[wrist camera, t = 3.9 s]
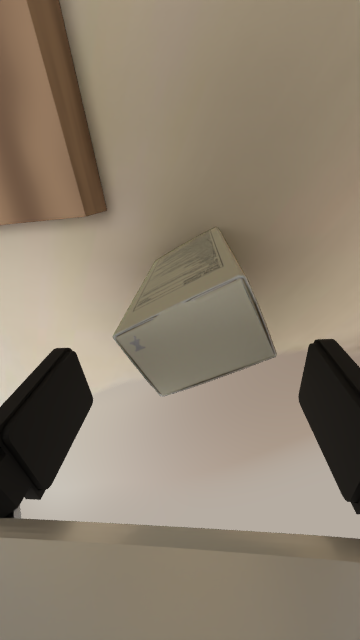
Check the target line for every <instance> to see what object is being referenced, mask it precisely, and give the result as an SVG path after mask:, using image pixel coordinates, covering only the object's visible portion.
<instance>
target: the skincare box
mask: <svg viewBox="0 0 360 640" xmlns="http://www.w3.org/2000/svg"><path fill="white" fill-rule="evenodd" d="M113 339H114V340H115V341H116V343H117V344H118V345H119V346H120V347H121V349H122V350H123V352H124V353H125V354H126V355H127V356H128V358H129V359H130V360H131V362H132V363H133V364H134V365H135V366H136V368H137V369H138V370H139V372H140V373H141V374H142V375H143V377H144V378H145V379H146V380H147V382H148V383H149V384H150V385H151V386H152V387H153V388H154V389H155V390H156V392H157V393H158V394H159V395H160V396H167V395H170V394H174V393H177V392H179V391H183V390H186V389H189V388H192V387H195V386H198V385H201V384H204V383H206V382H209V381H212V380H215V379H218V378H220V377H223V376H226V375H229V374H232V373H234V372H237V371H240V370H242V369H245V368H247V367H250V366H252V365H255V364H258V363H260V362H263V361H266V360H269V359H271V358H274V357H276V355H277V352H276V350H275V347H274V345H273V342H272V339H271V336H270V333H269V331H268V328H267V325H266V323H265V320H264V317H263V315H262V312H261V310H260V307H259V305H258V303H257V300H256V298H255V296H254V293H253V291H252V288H251V286H250V284H249V281H248V279H247V277H246V276H245V274H244V272H243V270H242V269H241V267H240V265H239V264H238V262H237V260H236V258H235V256H234V255H233V253H232V251H231V250H230V248H229V246H228V244H227V242H226V241H225V239H224V237H223V235H222V233H221V232H220V230H219V229H218V228H217V227H215V228H213V229H211V230H209V231H207V232H205V233H203V234H201V235H200V236H198V237H196V238H194V239H192V240H190V241H188V242H187V243H185V244H183V245H181V246H180V247H178V248H176V249H174V250H173V251H171V252H169V253H168V254H166V255H164V256H163V257H161V258H159V259H158V260H156V261H155V262H154V264H153V266H152V268H151V269H150V271H149V273H148V275H147V277H146V278H145V280H144V282H143V284H142V285H141V287H140V289H139V291H138V292H137V294H136V296H135V298H134V299H133V301H132V303H131V305H130V306H129V308H128V310H127V312H126V314H125V315H124V317H123V319H122V321H121V322H120V324H119V326H118V328H117V329H116V331H115V333H114V335H113Z"/></svg>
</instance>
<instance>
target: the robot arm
mask: <svg viewBox="0 0 360 640" xmlns="http://www.w3.org/2000/svg"><path fill="white" fill-rule="evenodd" d="M299 402H300V405H301V407H302V410H303V412H304V414H305V416H306V418H307V420H308V422H309V425H310V427H311V429H312V431H313V433H314V435H315V438H316V440H317V442H318V444H319V446H320V448H321V450H322V453H323V455H324V457H325V459H326V461H327V463H328V466H329V467H330V470H331V472H332V474H333V476H334V478H335V481H336V483H337V485H338V487H339V489H340V491H341V494H342V495H343V497H344V499H345V500H346V501H348V502H351V504H352V506H353V507H354V510H355V512H356V514H360V368H359V366H357V364H356V363H355V362H354V361H353V360H352V359H351V357H350V356H349V355H348V354H347V353H346V352H345V351H344V350H343V348H342V347H341V346H340V345H339V344H338V343H337V342H336V341H335V340H334V339H318V340H315V341H314V343H313V344H310V345H309V347H308V352H307V357H306V362H305V367H304V372H303V377H302V381H301V387H300V391H299ZM92 403H93V397H92V394H91V391H90V389H89V386H88V383H87V381H86V378H85V375H84V373H83V370H82V368H81V365H80V362H79V360H78V357H77V355H76V353H75V352H74V351H72V350H71V349H70V348H56V349H54V350H53V351H52V352H51V353H50V354H49V355H48V356H47V357H46V358H45V359H44V360H43V361H42V362H41V364H40V365H39V366H38V367H37V368H36V369H35V370H34V371H33V372H32V373H31V374H30V375H29V376H28V378H27V379H26V380H25V381H24V382H23V383H22V384H21V385H20V386H19V387H18V388H17V389H16V391H15V392H14V393H13V394H12V395H11V396H10V397H9V398H8V399H7V400H6V401H5V402H4V403H3V405H2V406H1V407H0V640H360V539H355V538H342V537H329V536H317V535H303V534H286V533H269V532H254V531H238V530H237V531H236V530H221V529H220V530H219V529H205V528H187V527H168V526H152V525H151V526H150V525H133V524H116V523H115V524H114V523H97V522H77V521H57V520H38V519H21V512H20V503H21V501H22V500H23V498H24V497H25V498H26V499H38V500H40V499H41V497H42V496H43V494H44V492H45V490H46V489H48V488H49V487H50V486H51V484H52V483H53V481H54V479H55V477H56V475H57V473H58V471H59V469H60V467H61V465H62V463H63V461H64V459H65V457H66V455H67V453H68V451H69V449H70V447H71V445H72V443H73V441H74V439H75V437H76V435H77V433H78V431H79V430H80V428H81V426H82V424H83V422H84V420H85V418H86V416H87V414H88V412H89V410H90V408H91V406H92Z"/></svg>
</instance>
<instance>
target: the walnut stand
mask: <svg viewBox="0 0 360 640" xmlns="http://www.w3.org/2000/svg"><path fill="white" fill-rule="evenodd" d="M103 211H107V208H106V204H105V200H104V195H103V191H102V186H101V182H100V178H99V173H98V169H97V165H96V160H95V156H94V152H93V147H92V143H91V139H90V134H89V130H88V125H87V121H86V117H85V112H84V108H83V104H82V99H81V95H80V91H79V86H78V82H77V78H76V73H75V69H74V65H73V60H72V56H71V51H70V47H69V43H68V38H67V34H66V30H65V25H64V21H63V17H62V12H61V8H60V4H59V0H0V225H5V224H15V223H25V222H35V221H45V220H55V219H64V218H74V217H84V216H89V215H92V214H96V213H99V212H103Z"/></svg>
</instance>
